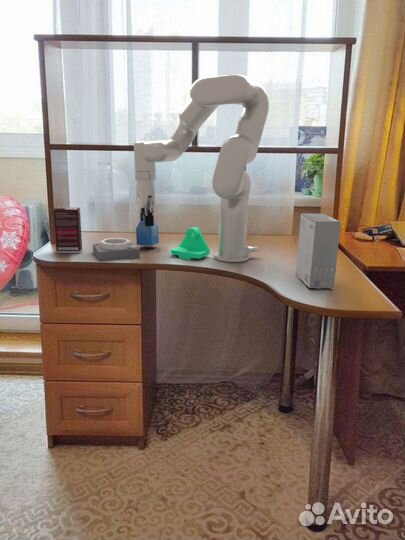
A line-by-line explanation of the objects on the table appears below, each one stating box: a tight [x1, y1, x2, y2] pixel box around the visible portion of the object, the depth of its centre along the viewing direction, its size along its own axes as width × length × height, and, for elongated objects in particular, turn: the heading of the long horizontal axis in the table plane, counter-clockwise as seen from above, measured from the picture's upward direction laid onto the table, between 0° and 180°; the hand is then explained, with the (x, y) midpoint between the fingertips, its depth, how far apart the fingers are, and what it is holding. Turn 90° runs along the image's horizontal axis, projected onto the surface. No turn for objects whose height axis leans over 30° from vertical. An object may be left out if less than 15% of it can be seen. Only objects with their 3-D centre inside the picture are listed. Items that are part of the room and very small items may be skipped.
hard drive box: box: [295, 213, 342, 289], centre depth 143 cm, size 16×8×20 cm, turn 4°
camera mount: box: [170, 226, 211, 261], centre depth 171 cm, size 12×8×10 cm, turn 62°
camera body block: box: [92, 237, 140, 261], centre depth 171 cm, size 14×12×5 cm
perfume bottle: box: [135, 212, 160, 247], centre depth 181 cm, size 6×6×12 cm
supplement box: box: [52, 206, 83, 254], centre depth 172 cm, size 9×5×16 cm, turn 94°
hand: (147, 224), depth 180 cm, fingers closed on perfume bottle, 5 cm apart
